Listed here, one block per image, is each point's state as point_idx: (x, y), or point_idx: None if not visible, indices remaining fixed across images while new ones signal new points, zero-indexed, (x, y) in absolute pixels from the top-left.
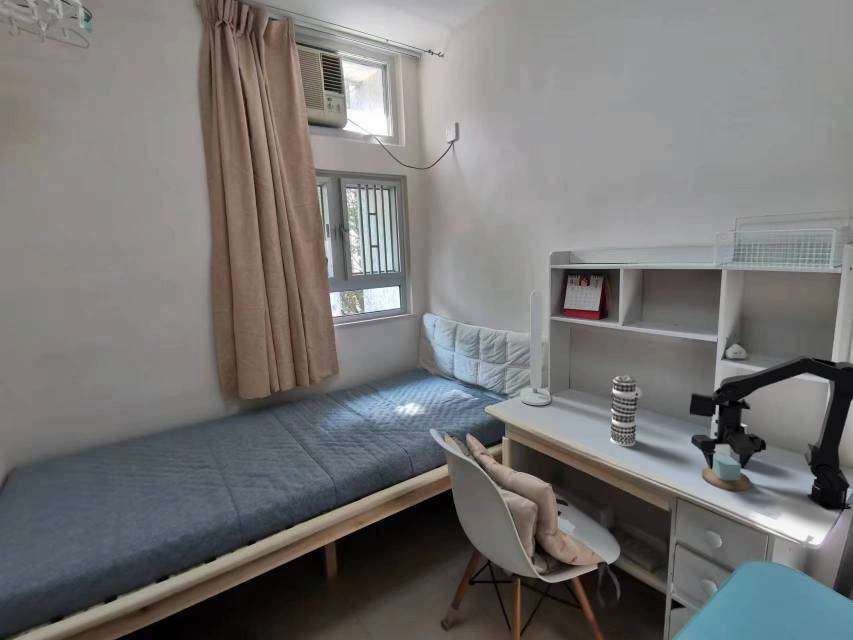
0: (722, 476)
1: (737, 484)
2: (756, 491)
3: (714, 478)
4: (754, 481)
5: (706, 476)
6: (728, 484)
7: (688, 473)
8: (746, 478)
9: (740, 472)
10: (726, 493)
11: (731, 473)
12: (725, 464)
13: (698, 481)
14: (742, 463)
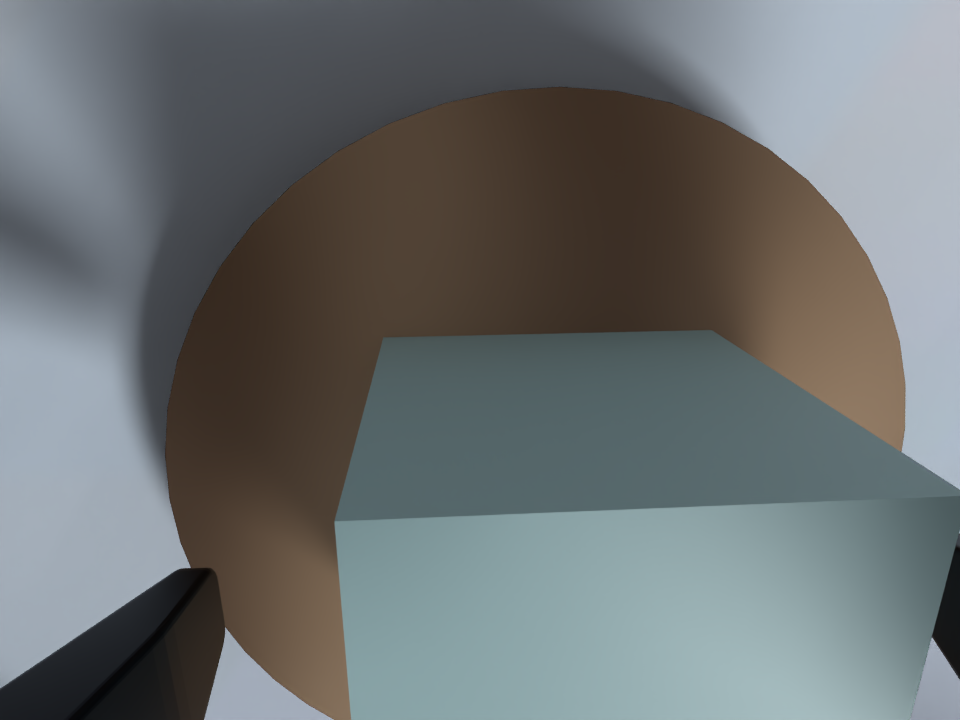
0: (747, 359)
1: (529, 173)
2: (212, 87)
3: None
4: (75, 423)
5: None
6: (706, 173)
7: None
8: (217, 402)
9: None
10: (793, 22)
11: (583, 385)
12: (877, 526)
13: (956, 407)
14: (162, 686)
